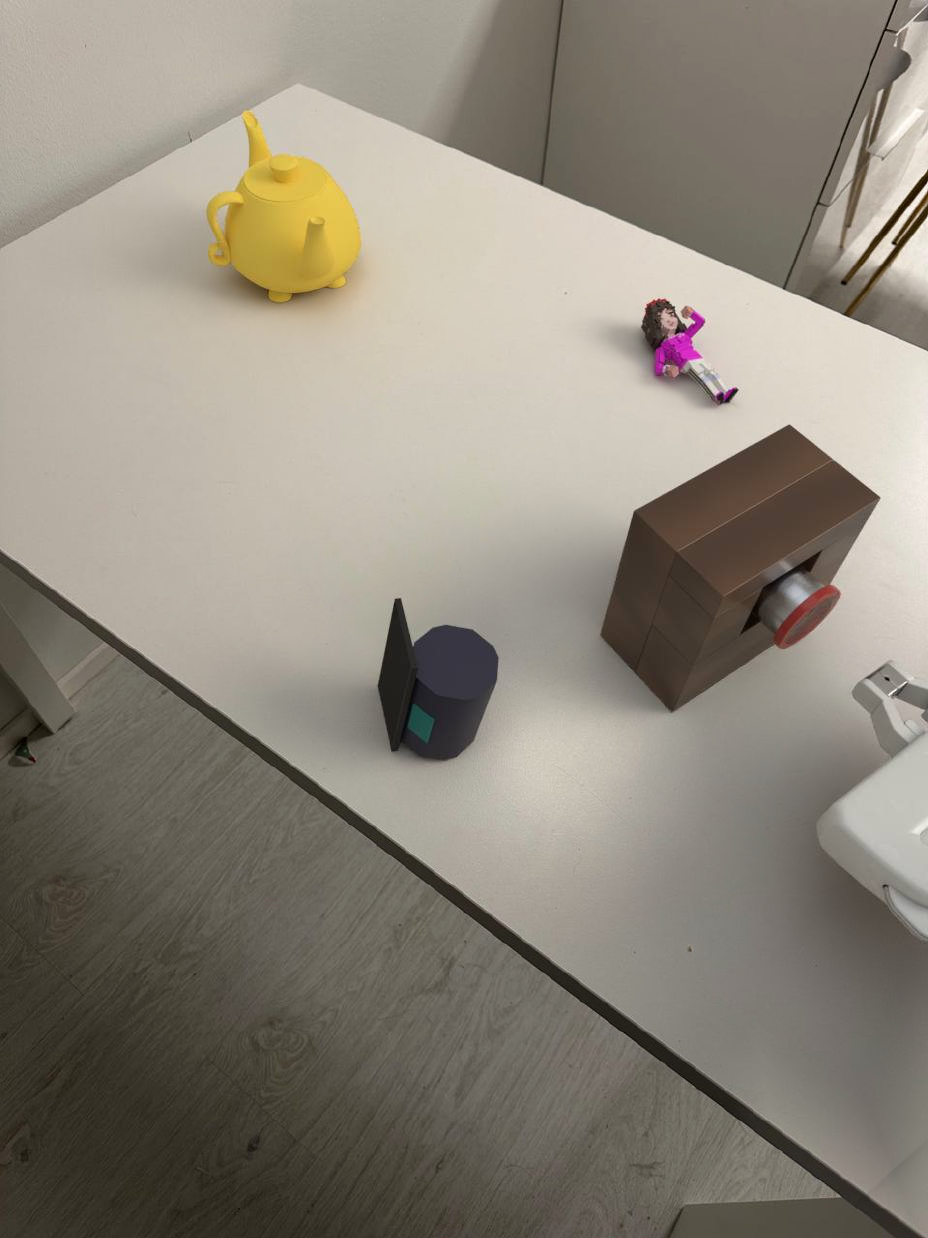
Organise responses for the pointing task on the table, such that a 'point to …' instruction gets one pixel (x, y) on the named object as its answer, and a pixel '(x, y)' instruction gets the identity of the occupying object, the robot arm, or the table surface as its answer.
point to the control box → (727, 560)
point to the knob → (794, 605)
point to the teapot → (285, 223)
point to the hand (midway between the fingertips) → (870, 675)
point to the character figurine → (681, 348)
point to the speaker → (435, 686)
